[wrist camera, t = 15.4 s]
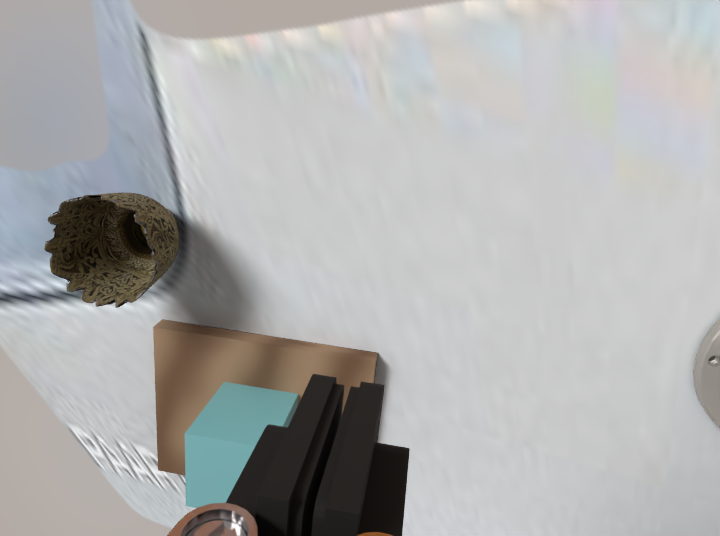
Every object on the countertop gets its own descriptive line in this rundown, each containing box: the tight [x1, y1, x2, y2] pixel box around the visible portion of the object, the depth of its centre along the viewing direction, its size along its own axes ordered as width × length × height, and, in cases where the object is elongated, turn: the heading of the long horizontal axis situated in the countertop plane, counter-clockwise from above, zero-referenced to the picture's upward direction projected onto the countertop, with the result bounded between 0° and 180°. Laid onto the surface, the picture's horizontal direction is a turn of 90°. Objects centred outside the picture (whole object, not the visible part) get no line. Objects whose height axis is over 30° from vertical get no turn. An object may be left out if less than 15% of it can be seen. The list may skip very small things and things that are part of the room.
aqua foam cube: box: [185, 382, 298, 508], centre depth 40 cm, size 6×6×7 cm
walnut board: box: [153, 320, 378, 475], centre depth 44 cm, size 18×14×2 cm
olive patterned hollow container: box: [45, 193, 179, 308], centre depth 37 cm, size 8×7×8 cm
